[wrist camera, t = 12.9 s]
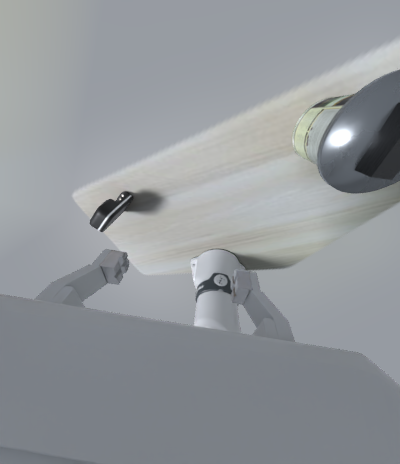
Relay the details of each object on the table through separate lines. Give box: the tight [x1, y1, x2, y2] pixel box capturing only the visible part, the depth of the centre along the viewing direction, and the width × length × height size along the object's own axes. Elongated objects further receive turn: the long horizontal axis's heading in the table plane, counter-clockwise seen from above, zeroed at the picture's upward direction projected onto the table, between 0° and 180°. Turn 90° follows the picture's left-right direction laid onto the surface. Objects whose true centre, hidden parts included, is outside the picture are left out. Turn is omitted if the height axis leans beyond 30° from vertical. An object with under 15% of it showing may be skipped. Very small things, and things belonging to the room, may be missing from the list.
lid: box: [317, 70, 400, 193], centre depth 18 cm, size 13×13×4 cm
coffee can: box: [292, 94, 355, 165], centre depth 26 cm, size 10×10×14 cm
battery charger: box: [90, 192, 133, 232], centre depth 41 cm, size 7×4×11 cm, turn 137°
